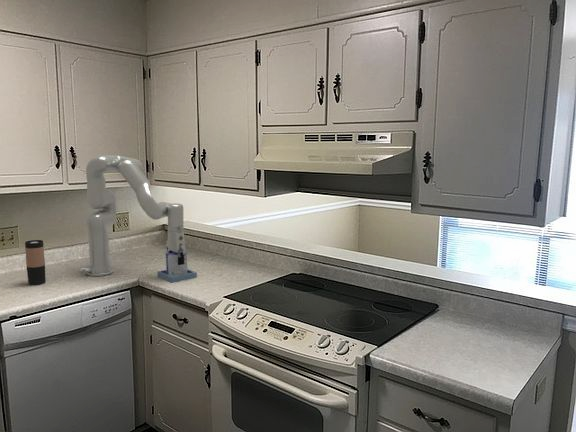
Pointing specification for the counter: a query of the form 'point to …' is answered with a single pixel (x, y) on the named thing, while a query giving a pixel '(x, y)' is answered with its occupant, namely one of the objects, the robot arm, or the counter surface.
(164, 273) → the frame
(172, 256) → the ink cartridge box
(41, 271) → the travel mug
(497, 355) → the counter surface
